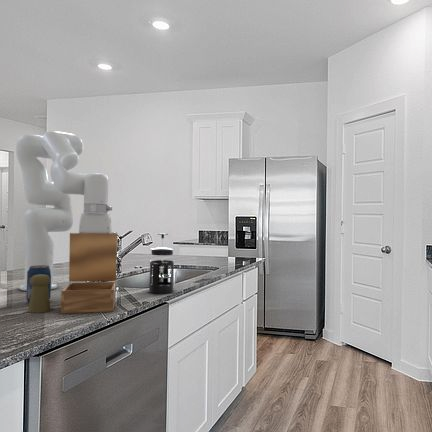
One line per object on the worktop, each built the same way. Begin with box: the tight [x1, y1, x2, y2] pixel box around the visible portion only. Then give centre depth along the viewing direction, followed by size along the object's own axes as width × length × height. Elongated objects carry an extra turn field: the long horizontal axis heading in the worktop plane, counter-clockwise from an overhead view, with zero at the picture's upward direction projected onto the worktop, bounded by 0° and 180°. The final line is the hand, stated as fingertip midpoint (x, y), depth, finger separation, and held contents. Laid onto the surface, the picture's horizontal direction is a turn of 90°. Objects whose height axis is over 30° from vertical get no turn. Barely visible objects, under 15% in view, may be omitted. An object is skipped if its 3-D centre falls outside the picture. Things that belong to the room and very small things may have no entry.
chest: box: [60, 281, 117, 315], centre depth 138 cm, size 16×15×7 cm
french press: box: [148, 232, 175, 295], centre depth 167 cm, size 12×9×23 cm
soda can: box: [26, 265, 52, 304], centre depth 143 cm, size 7×7×12 cm
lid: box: [68, 232, 118, 283], centre depth 145 cm, size 16×15×1 cm
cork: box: [27, 274, 52, 314], centre depth 132 cm, size 6×6×11 cm
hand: (94, 262), depth 147 cm, fingers closed
